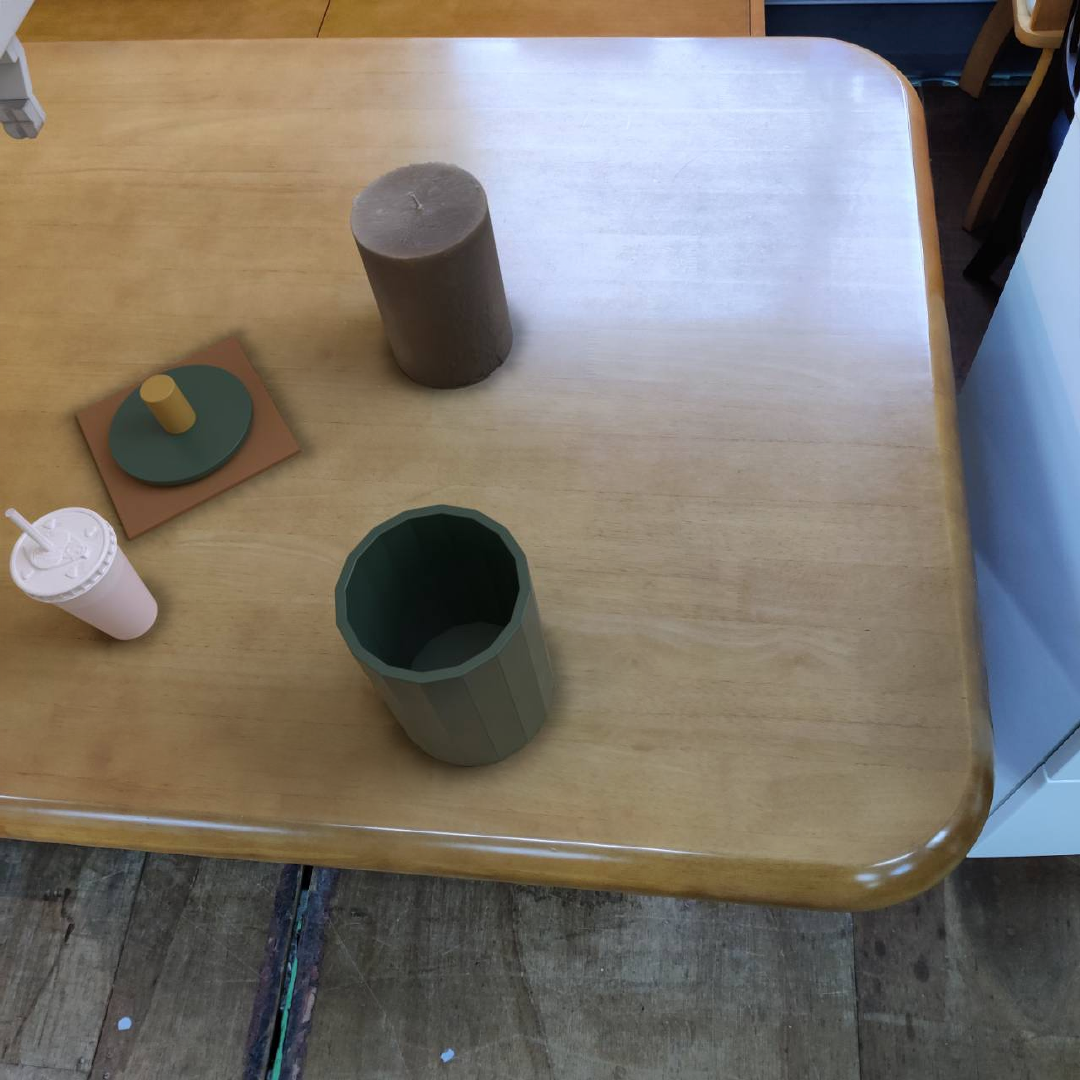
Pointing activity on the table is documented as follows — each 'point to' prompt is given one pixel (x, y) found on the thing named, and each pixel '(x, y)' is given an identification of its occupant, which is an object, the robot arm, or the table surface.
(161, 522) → the cork mat
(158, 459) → the tin lid
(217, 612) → the table surface
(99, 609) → the smoothie
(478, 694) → the tin
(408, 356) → the pillar candle
